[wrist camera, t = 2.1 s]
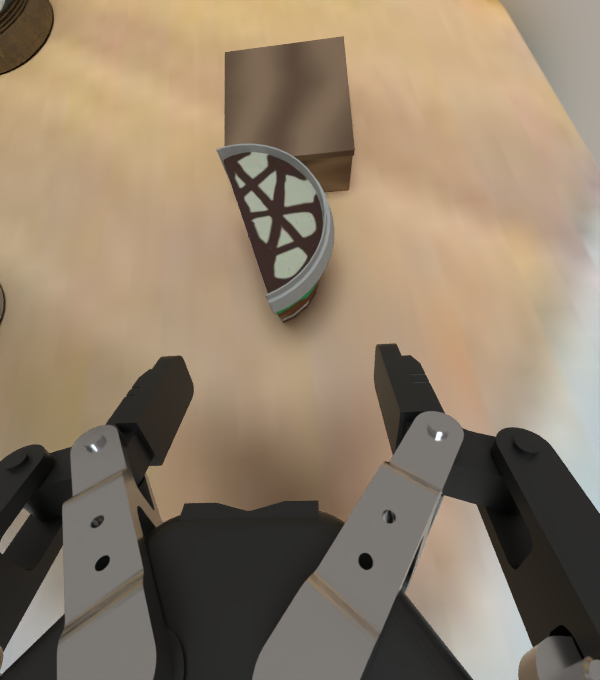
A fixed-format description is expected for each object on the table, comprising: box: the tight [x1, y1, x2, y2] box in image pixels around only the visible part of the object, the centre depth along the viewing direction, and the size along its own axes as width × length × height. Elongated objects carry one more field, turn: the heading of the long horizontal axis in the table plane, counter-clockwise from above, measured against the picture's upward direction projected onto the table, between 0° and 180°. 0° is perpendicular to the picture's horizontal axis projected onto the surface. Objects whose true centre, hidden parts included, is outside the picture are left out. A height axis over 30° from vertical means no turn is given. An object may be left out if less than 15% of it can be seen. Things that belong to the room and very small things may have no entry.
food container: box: [216, 144, 334, 322], centre depth 24 cm, size 12×6×10 cm, turn 19°
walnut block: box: [225, 36, 355, 192], centre depth 29 cm, size 11×12×5 cm
